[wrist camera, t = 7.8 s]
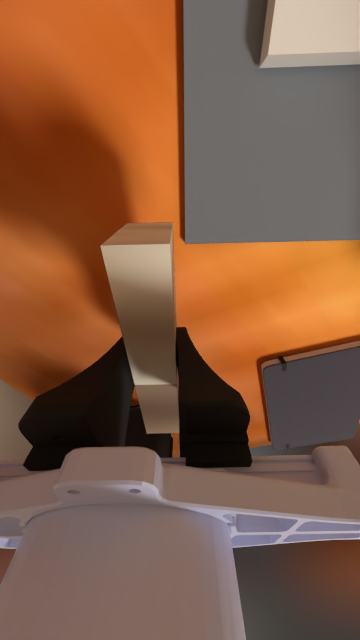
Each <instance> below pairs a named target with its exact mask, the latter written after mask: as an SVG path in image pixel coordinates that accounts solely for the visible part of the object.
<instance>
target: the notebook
mask: <svg viewBox="0 0 360 640" xmlns="http://www.w3.org/2000/svg"><path fill="white" fill-rule="evenodd" d="M261 371H262V378H263V386H264V393H265V401H266V408H267V415H268V423H269V430H270V437H271V442H272V447H273V449H276V450H277V449H284V448H291V447H298V446H304V445H311V444H318V443H325V442H331V441H337V440H345V439H352V438H354V436H355V432H356V429H357V426H358V423H359V420H360V341H355V342H350V343H346V344H341V345H337V346H332V347H328V348H323V349H319V350H314V351H310V352H305V353H300V354H296V355H291V356H287V357H283V356H281V357H278V359H273V360H269V361H266V362H264V363H262V365H261Z"/></svg>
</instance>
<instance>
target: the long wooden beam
mask: <svg viewBox="0 0 360 640" xmlns="http://www.w3.org/2000/svg"><path fill="white" fill-rule="evenodd" d="M100 247H101V251H102V255H103V259H104V263H105V267H106V271H107V275H108V279H109V283H110V287H111V291H112V296H113V300H114V304H115V308H116V312H117V316H118V320H119V324H120V328H121V332H122V336H123V340H124V344H125V348H126V352H127V356H128V360H129V364H130V368H131V372H132V376H133V380H134V384H135V388H136V392H137V396H138V400H139V404H140V408H141V412H142V416H143V420H144V424H145V428H146V432H147V434H152V433H179V406H178V390H179V379H178V369H177V351H176V327H177V319H176V293H175V268H174V242H173V222H157V223H127V224H125V225H124V226H123V227H122V228H121V229H119V230H118V231H117V232H116V233H115V234H113V235H112V236H111V237H110V238H109V239H107V240H106V241H105V242H104V243H103V244H101V245H100Z"/></svg>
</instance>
